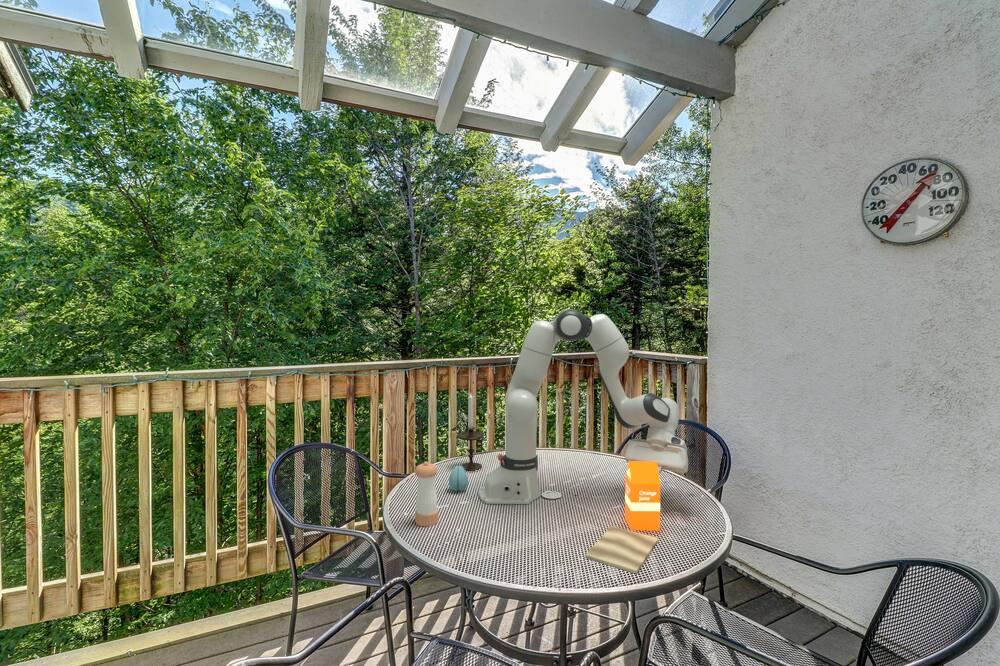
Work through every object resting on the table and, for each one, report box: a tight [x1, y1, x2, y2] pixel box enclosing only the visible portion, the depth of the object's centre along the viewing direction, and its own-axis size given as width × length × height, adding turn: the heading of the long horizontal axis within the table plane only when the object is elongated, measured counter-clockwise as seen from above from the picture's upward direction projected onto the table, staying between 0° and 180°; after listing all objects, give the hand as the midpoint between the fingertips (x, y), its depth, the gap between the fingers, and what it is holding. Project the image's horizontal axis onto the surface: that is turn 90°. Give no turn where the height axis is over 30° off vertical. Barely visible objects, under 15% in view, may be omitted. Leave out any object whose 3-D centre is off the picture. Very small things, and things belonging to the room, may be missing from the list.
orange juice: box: [624, 461, 661, 531], centre depth 146 cm, size 8×9×20 cm
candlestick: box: [457, 386, 485, 471], centre depth 197 cm, size 11×11×35 cm
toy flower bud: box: [448, 465, 469, 492], centre depth 176 cm, size 7×9×12 cm
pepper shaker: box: [414, 461, 439, 527], centre depth 149 cm, size 7×7×19 cm
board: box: [585, 525, 659, 575], centre depth 132 cm, size 20×14×1 cm
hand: (651, 478), depth 154 cm, fingers closed
